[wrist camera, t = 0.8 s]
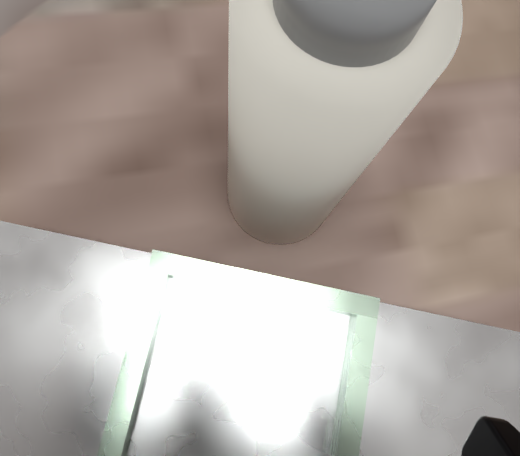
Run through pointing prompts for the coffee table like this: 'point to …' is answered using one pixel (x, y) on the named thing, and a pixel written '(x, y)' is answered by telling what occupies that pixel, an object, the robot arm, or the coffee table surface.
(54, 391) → the plate
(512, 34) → the coffee table surface
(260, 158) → the cream bottle
